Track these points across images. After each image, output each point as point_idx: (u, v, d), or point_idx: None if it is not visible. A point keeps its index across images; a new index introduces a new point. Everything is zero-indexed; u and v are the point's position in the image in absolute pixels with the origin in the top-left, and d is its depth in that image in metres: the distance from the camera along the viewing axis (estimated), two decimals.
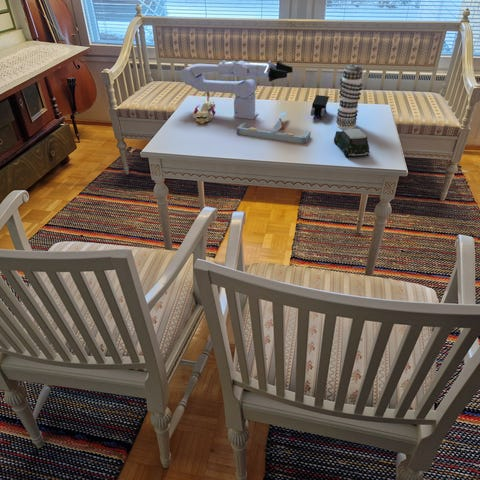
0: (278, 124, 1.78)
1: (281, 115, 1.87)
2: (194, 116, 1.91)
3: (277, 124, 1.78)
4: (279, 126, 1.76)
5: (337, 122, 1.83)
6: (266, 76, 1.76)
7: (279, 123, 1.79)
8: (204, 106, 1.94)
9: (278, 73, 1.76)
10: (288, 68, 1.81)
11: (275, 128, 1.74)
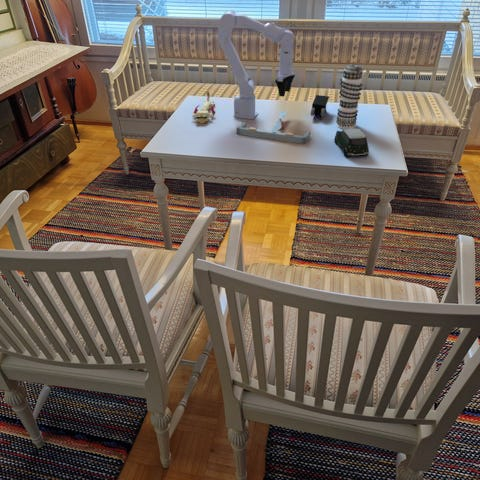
0: (278, 124, 1.78)
1: (281, 115, 1.87)
2: (194, 116, 1.91)
3: (277, 124, 1.78)
4: (279, 126, 1.76)
5: (337, 122, 1.83)
6: (279, 80, 1.79)
7: (279, 123, 1.79)
8: (204, 106, 1.94)
9: (282, 88, 1.84)
10: (287, 88, 1.91)
11: (275, 128, 1.74)
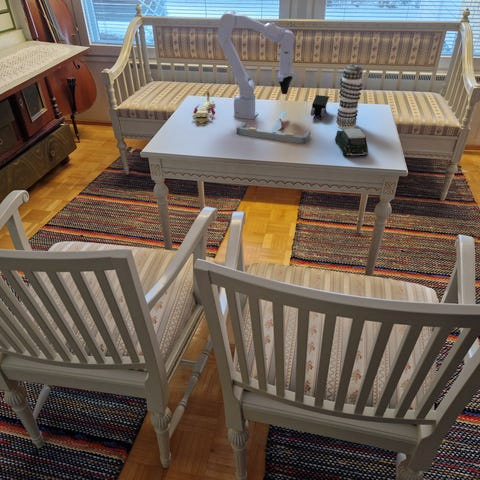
0: (278, 124, 1.78)
1: (281, 115, 1.87)
2: (194, 116, 1.91)
3: (277, 124, 1.78)
4: (279, 126, 1.76)
5: (337, 122, 1.83)
6: (279, 80, 1.79)
7: (279, 123, 1.79)
8: (204, 106, 1.95)
9: (285, 86, 1.86)
10: None
11: (275, 128, 1.74)
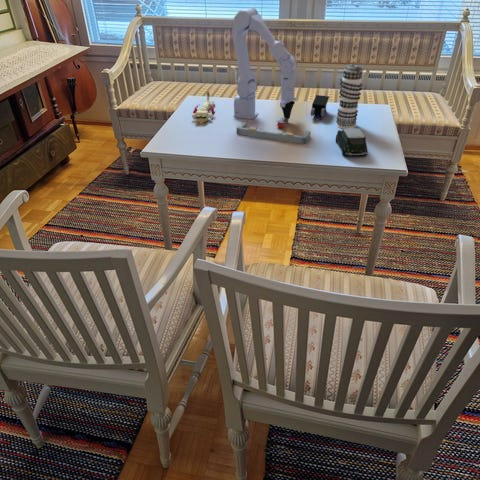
0: (281, 120, 1.78)
1: None
2: (193, 116, 1.91)
3: (280, 119, 1.78)
4: (281, 121, 1.76)
5: (337, 122, 1.83)
6: (281, 105, 1.79)
7: (281, 120, 1.79)
8: (204, 106, 1.95)
9: (287, 111, 1.86)
10: None
11: (278, 120, 1.74)
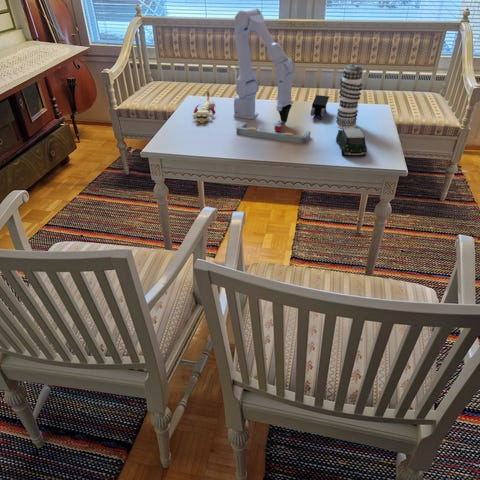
0: (278, 123, 1.75)
1: (279, 121, 1.85)
2: (194, 116, 1.91)
3: (277, 123, 1.75)
4: (278, 125, 1.73)
5: (337, 122, 1.83)
6: (278, 109, 1.76)
7: (278, 123, 1.76)
8: (204, 106, 1.95)
9: (284, 114, 1.83)
10: None
11: (275, 124, 1.70)
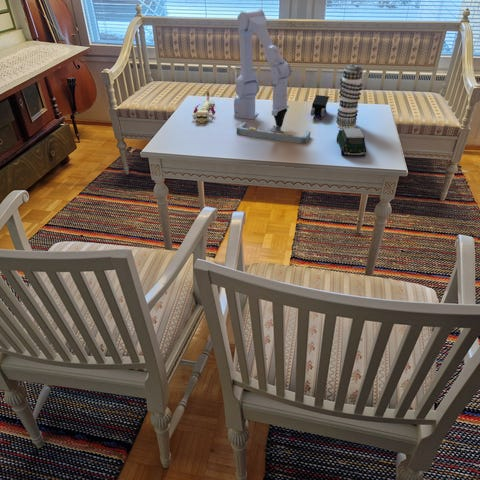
0: (273, 128, 1.71)
1: (275, 125, 1.81)
2: (194, 116, 1.91)
3: (272, 128, 1.71)
4: (273, 129, 1.69)
5: (337, 122, 1.83)
6: (273, 114, 1.72)
7: (273, 128, 1.72)
8: (204, 106, 1.95)
9: (279, 119, 1.79)
10: None
11: (270, 129, 1.66)
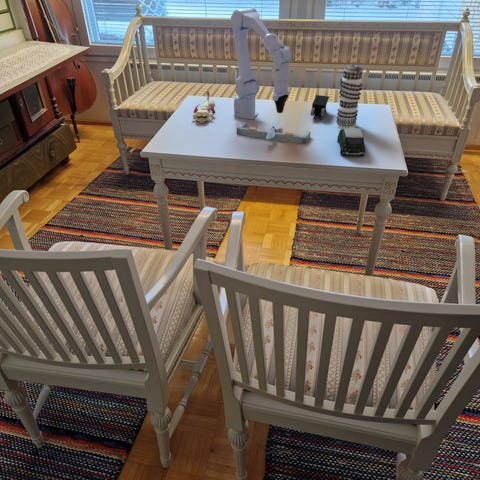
0: (271, 132, 1.71)
1: (274, 122, 1.80)
2: (194, 115, 1.92)
3: (271, 131, 1.71)
4: (272, 134, 1.69)
5: (337, 122, 1.83)
6: (274, 99, 1.70)
7: (272, 131, 1.72)
8: (204, 105, 1.95)
9: (280, 104, 1.77)
10: None
11: (269, 136, 1.67)
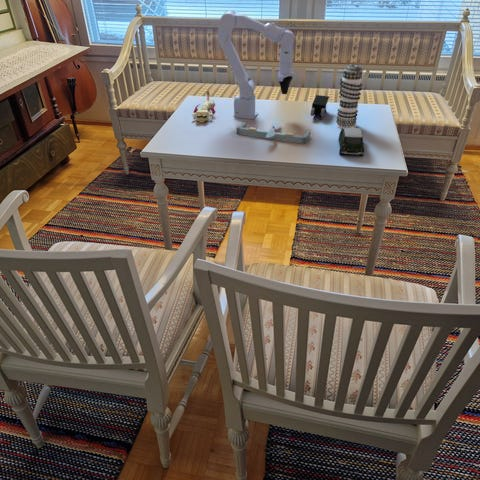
0: (271, 131, 1.71)
1: (274, 123, 1.80)
2: (194, 115, 1.92)
3: (271, 131, 1.71)
4: (272, 133, 1.69)
5: (337, 122, 1.83)
6: (279, 80, 1.79)
7: (272, 130, 1.72)
8: (204, 105, 1.95)
9: (285, 86, 1.86)
10: None
11: (268, 135, 1.67)
